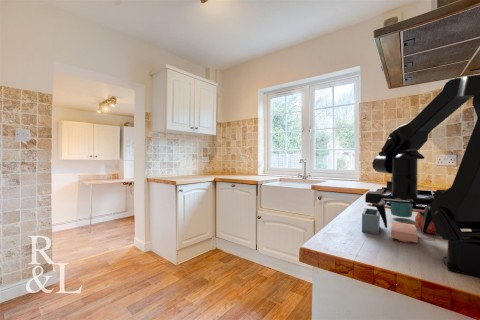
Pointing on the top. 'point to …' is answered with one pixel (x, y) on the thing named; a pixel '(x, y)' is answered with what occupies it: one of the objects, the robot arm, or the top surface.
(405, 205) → the beverage bottle
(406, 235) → the lid
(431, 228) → the pomegranate
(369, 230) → the box
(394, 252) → the top surface
